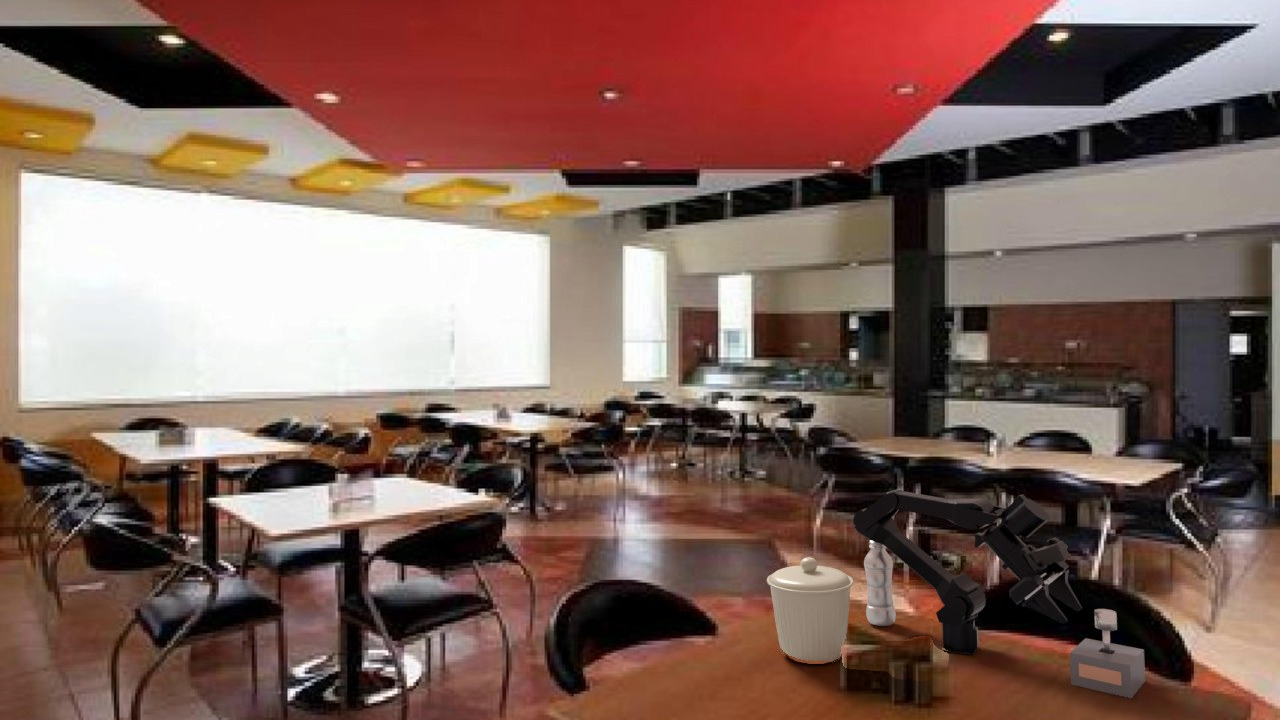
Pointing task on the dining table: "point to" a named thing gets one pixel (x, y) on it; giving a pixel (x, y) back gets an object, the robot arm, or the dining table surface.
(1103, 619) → the pump plunger
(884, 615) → the plastic bottle
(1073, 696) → the dining table surface
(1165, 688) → the dining table surface
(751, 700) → the dining table surface
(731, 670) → the dining table surface
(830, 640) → the canister
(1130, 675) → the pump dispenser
